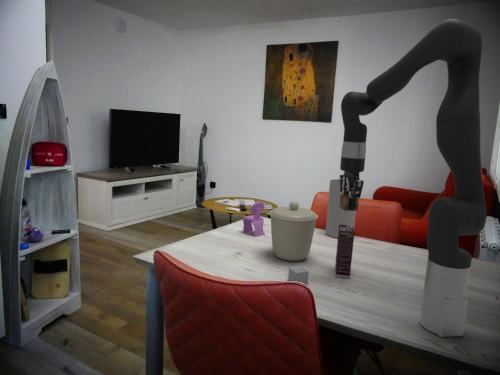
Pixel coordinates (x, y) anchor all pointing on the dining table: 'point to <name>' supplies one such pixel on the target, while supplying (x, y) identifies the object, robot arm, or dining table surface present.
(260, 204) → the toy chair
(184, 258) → the dining table surface
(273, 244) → the canister
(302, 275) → the slate cube
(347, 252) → the supplement box
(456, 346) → the dining table surface
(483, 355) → the dining table surface
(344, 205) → the walnut cube
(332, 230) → the cylinder vase
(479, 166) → the robot arm
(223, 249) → the dining table surface
